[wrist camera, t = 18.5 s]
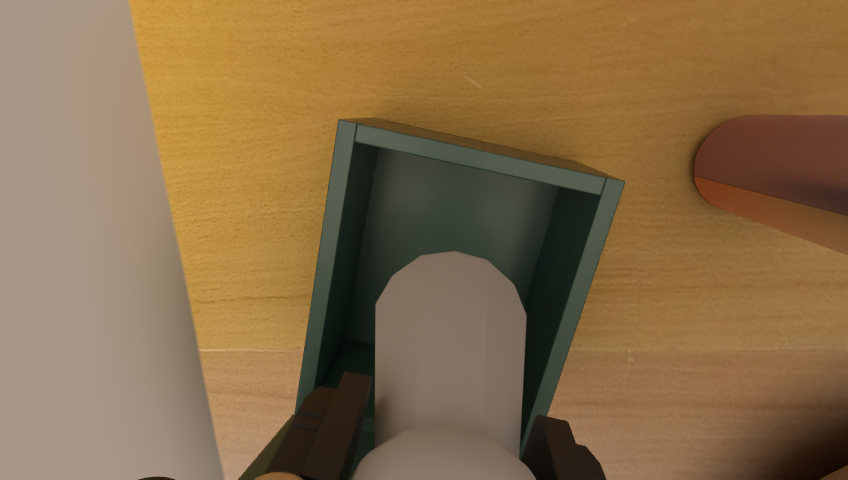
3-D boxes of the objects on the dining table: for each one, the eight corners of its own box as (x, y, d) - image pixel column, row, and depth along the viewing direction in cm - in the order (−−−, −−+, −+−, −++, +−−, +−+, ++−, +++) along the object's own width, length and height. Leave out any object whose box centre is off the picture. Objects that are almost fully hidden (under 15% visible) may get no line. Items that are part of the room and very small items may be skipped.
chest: (372, 117, 30) (338, 118, 21) (577, 162, 30) (626, 181, 21) (334, 340, 35) (294, 415, 26) (511, 380, 34) (529, 468, 26)
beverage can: (684, 127, 29) (913, 142, 14) (785, 104, 28) (1136, 95, 13) (692, 217, 30) (907, 312, 16) (788, 198, 29) (1108, 280, 15)
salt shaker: (358, 302, 20) (193, 613, 8) (444, 207, 19) (417, 402, 6) (455, 382, 21) (451, 787, 8) (546, 297, 19) (705, 634, 7)
